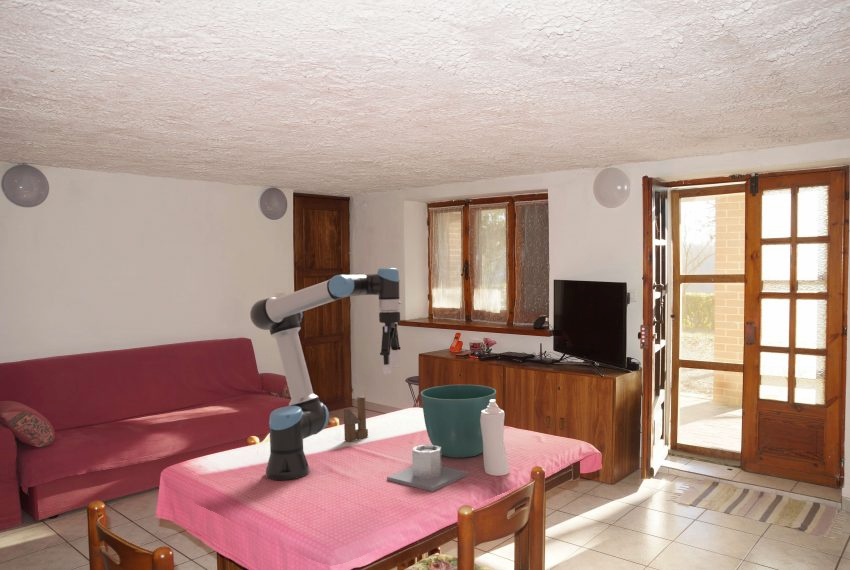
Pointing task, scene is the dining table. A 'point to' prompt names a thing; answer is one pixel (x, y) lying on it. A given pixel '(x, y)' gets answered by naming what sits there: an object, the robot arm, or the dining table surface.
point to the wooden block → (355, 422)
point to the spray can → (494, 440)
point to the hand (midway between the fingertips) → (391, 370)
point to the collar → (427, 462)
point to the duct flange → (427, 484)
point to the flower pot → (456, 417)
